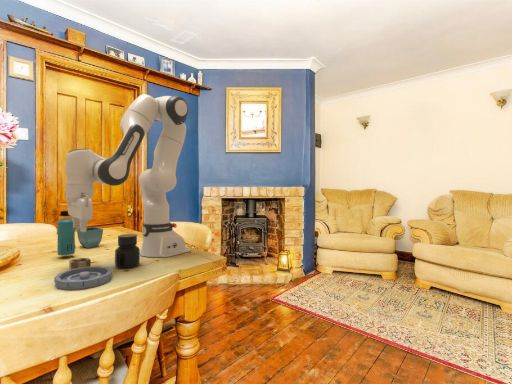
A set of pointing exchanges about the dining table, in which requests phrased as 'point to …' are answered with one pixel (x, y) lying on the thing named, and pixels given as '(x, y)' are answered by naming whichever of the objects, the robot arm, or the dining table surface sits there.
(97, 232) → the flower pot
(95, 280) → the groove tray
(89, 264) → the bead loop
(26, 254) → the dining table surface
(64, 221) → the beverage bottle
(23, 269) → the dining table surface
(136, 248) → the ink bottle
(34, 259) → the dining table surface
